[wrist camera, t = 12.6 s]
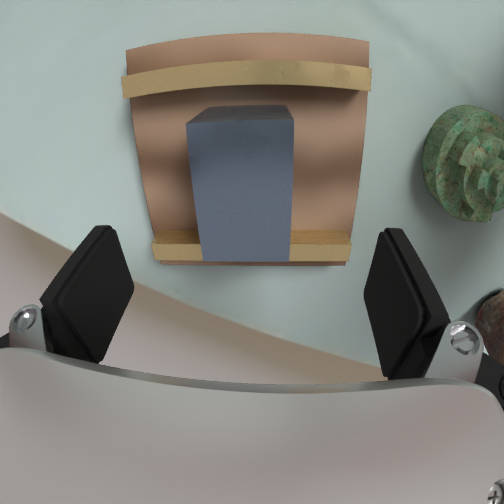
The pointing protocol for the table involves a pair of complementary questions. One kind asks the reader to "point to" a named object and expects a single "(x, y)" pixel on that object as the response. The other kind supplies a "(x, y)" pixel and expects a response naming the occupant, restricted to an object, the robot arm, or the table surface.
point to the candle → (492, 326)
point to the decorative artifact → (466, 162)
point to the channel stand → (253, 93)
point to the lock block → (243, 181)
